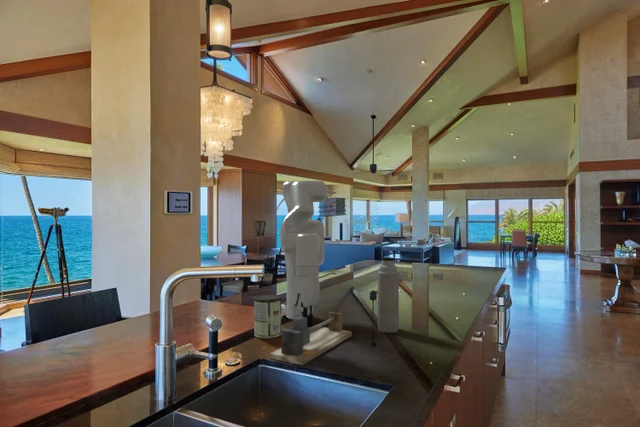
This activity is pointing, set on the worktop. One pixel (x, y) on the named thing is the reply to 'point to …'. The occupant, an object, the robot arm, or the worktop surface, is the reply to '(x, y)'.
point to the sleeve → (302, 328)
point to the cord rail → (318, 344)
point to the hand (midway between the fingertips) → (307, 326)
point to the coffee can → (267, 316)
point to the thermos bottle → (388, 296)
